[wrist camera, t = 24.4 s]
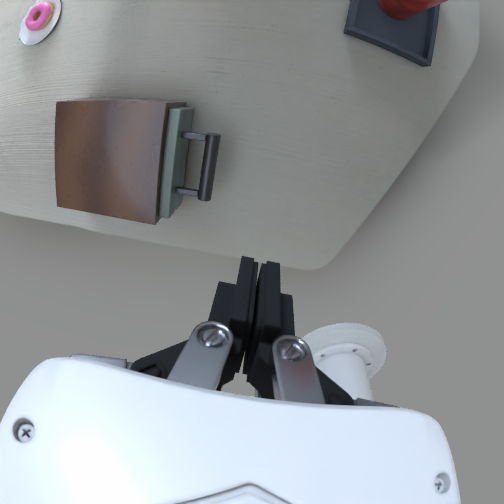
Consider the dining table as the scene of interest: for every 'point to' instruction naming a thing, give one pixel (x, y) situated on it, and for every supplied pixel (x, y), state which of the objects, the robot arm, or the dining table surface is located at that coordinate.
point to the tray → (394, 30)
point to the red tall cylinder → (406, 7)
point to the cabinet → (111, 155)
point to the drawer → (184, 161)
